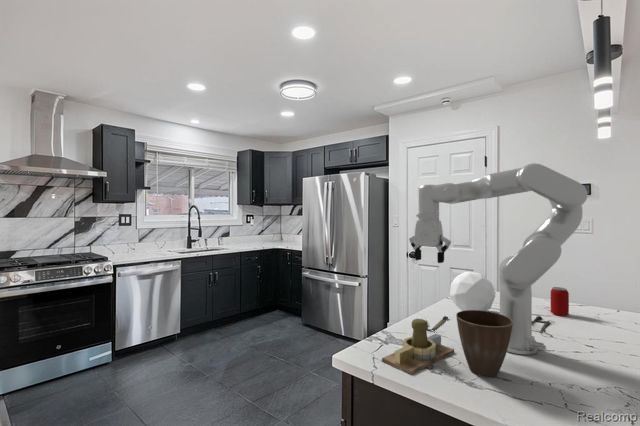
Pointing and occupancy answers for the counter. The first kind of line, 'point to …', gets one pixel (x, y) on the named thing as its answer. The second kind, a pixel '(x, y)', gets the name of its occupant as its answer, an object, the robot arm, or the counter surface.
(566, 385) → the counter surface
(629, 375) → the counter surface
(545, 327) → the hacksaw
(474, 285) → the ball
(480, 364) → the plant pot
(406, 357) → the ring bracket
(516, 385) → the counter surface
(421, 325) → the cork
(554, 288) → the beverage can
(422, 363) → the board with octagonal collar
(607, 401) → the counter surface
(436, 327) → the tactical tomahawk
